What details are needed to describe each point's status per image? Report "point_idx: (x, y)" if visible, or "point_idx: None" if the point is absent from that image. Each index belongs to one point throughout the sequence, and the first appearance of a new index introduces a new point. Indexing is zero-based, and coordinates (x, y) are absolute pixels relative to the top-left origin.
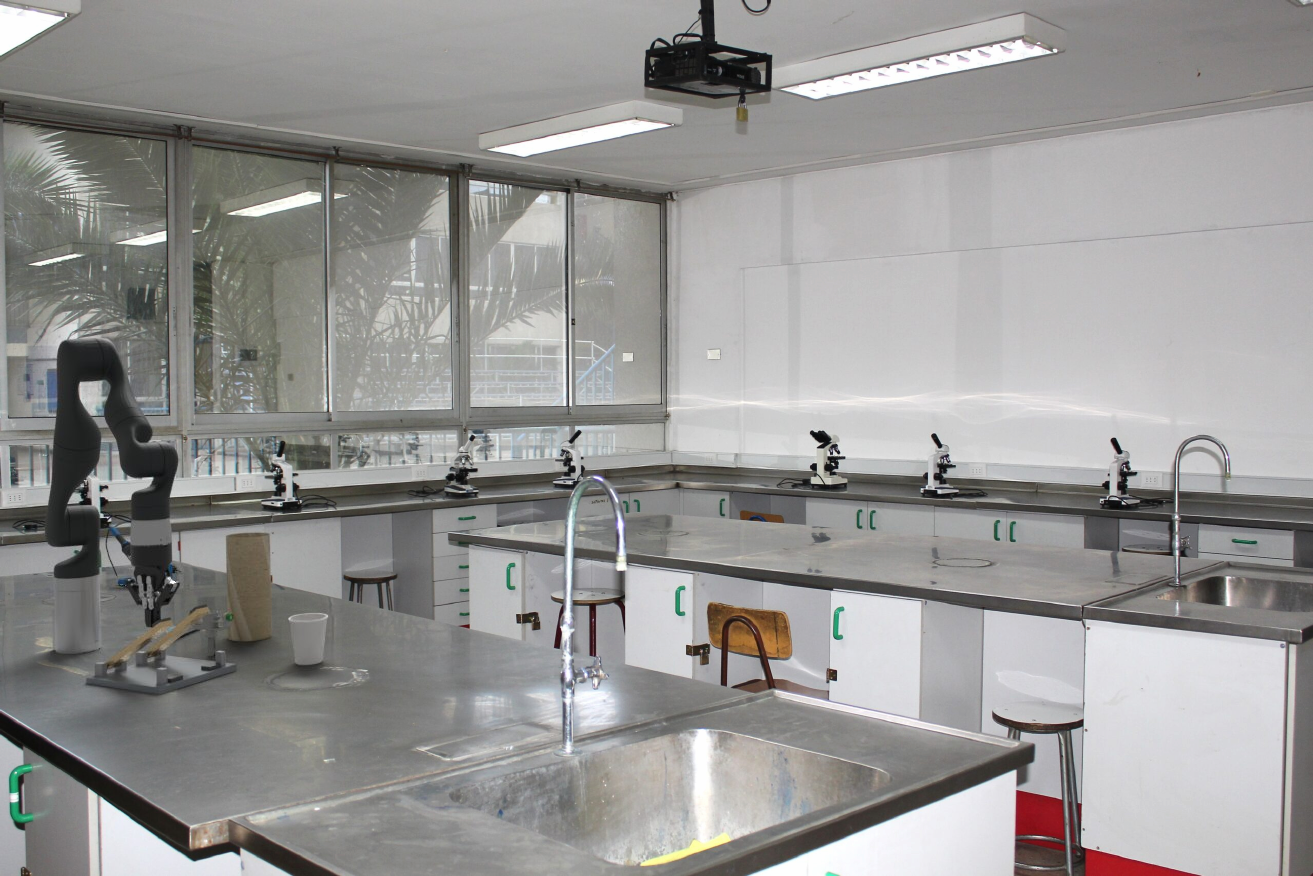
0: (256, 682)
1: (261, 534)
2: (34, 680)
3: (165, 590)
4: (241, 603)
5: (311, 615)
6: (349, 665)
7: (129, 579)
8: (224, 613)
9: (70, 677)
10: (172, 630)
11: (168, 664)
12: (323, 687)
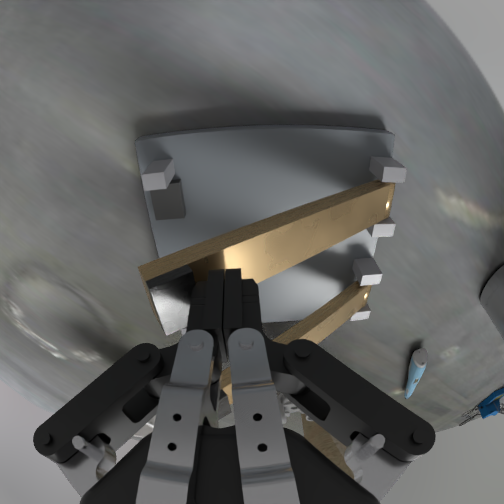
0: (84, 280)
1: None
2: (489, 137)
3: (66, 421)
4: (329, 438)
5: (148, 433)
6: (86, 365)
7: (413, 460)
8: (285, 420)
9: (452, 171)
10: (292, 340)
11: (303, 280)
12: (10, 292)
